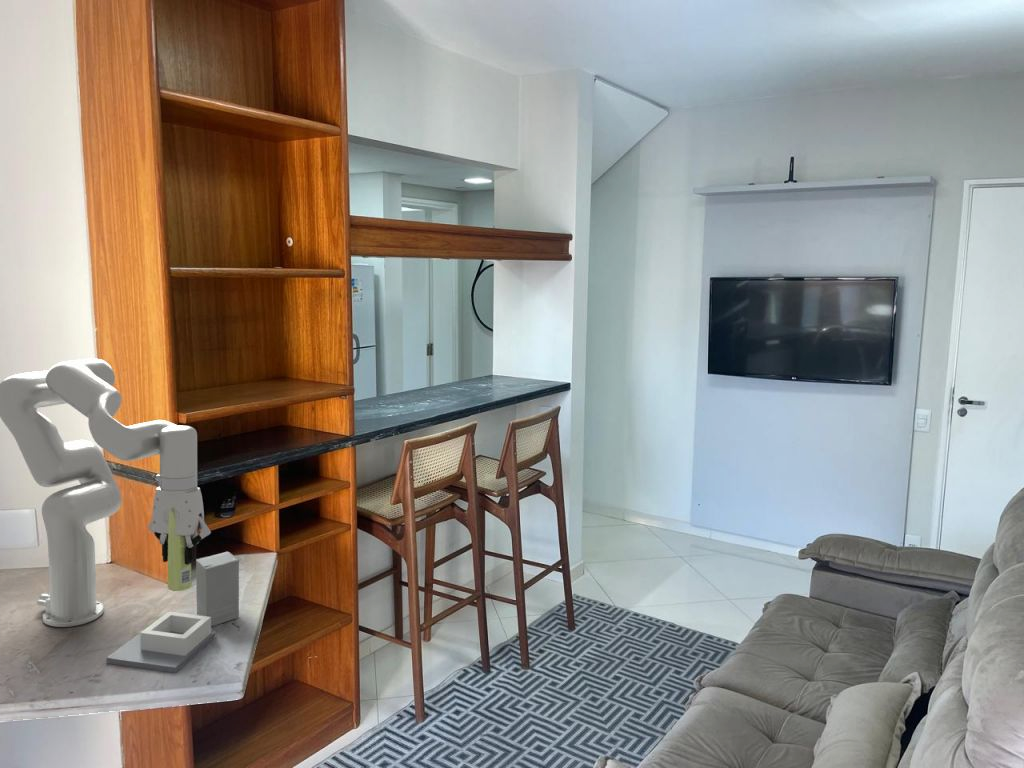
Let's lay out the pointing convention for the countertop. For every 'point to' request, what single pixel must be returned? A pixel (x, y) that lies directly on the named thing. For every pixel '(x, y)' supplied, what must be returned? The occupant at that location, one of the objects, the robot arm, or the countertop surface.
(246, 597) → the countertop surface
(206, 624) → the dock
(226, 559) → the skincare box
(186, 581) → the tube
